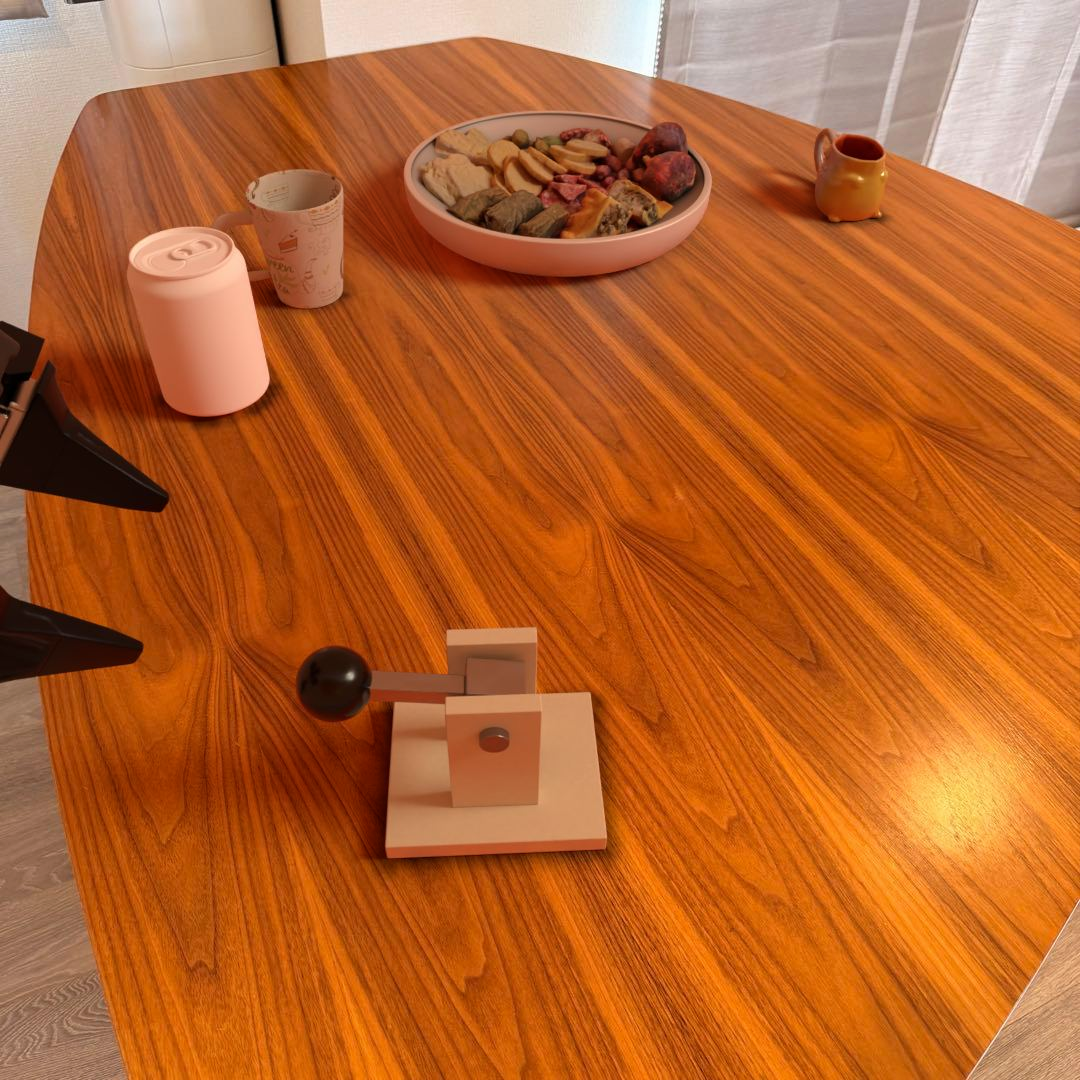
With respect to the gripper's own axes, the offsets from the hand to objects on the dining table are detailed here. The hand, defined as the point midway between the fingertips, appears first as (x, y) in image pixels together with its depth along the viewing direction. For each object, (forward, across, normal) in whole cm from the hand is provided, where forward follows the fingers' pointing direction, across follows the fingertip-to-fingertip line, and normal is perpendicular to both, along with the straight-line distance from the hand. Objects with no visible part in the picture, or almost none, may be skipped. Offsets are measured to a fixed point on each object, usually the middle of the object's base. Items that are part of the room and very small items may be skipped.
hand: (154, 573), depth 43 cm
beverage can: (+6, +34, +13) cm, 37 cm away
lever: (+13, -3, 0) cm, 13 cm away
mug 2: (+56, +61, -23) cm, 85 cm away
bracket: (+20, -4, +3) cm, 21 cm away
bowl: (+31, +60, -5) cm, 68 cm away
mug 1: (+10, +48, +10) cm, 50 cm away
